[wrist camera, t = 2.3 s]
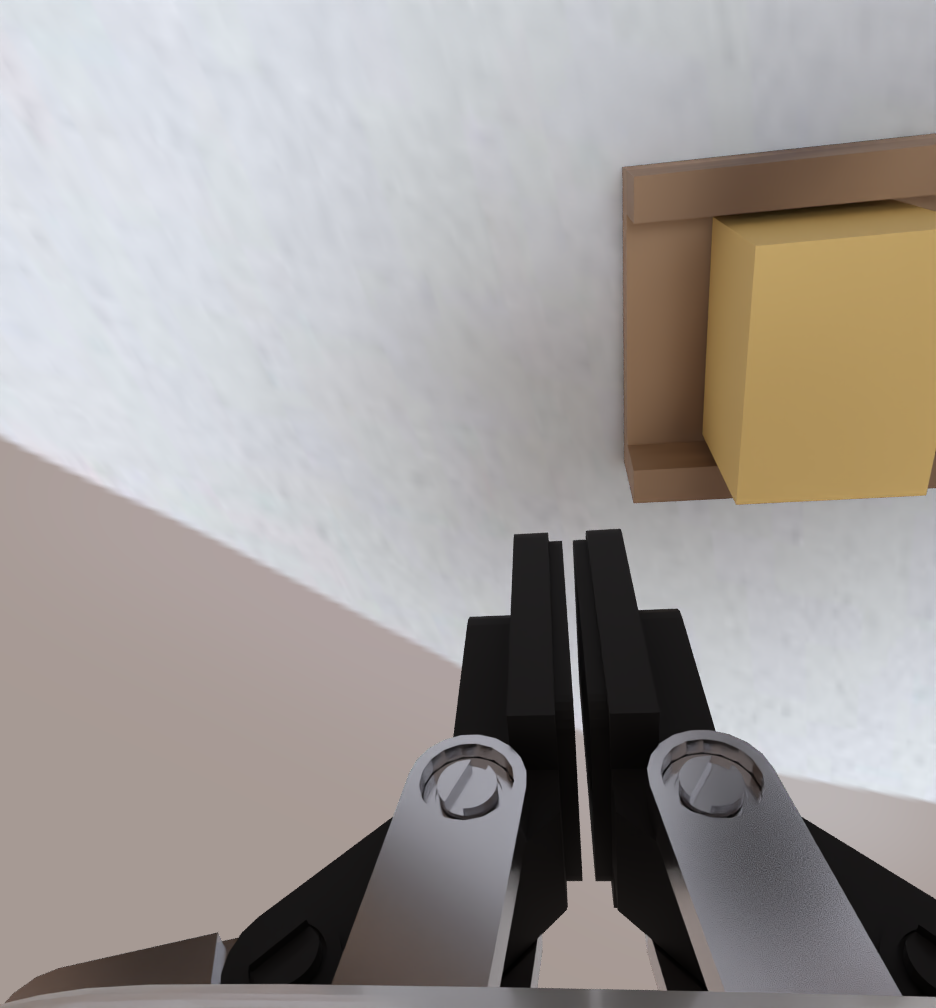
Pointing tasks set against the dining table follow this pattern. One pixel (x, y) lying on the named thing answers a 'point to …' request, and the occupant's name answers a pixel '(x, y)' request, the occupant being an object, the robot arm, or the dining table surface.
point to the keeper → (822, 352)
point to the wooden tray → (686, 279)
